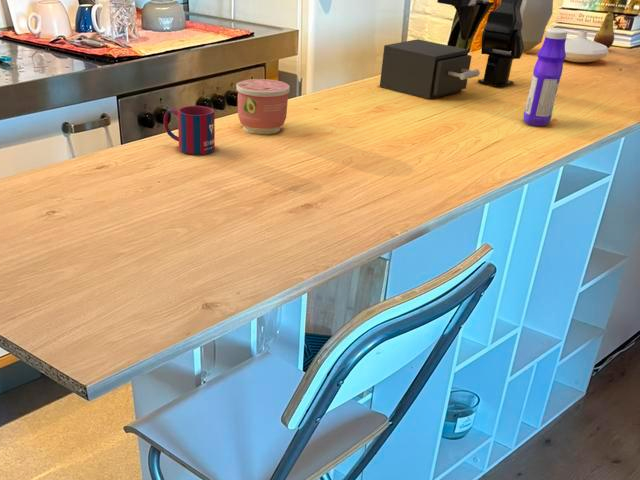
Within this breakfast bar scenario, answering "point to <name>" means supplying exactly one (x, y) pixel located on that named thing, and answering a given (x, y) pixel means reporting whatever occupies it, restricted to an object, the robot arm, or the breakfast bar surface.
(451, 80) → the pull-out drawer box
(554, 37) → the bottle
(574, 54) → the vase
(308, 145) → the breakfast bar surface
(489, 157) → the breakfast bar surface
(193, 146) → the mug
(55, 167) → the breakfast bar surface
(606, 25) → the fruit
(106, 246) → the breakfast bar surface
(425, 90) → the dark drawer cabinet casing
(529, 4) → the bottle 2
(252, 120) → the container
